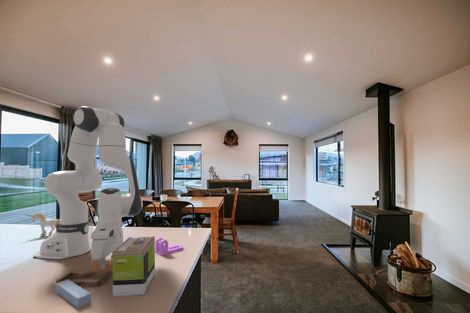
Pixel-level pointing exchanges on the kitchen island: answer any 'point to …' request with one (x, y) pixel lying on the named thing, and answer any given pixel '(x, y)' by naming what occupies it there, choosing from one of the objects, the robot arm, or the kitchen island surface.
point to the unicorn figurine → (45, 222)
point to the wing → (73, 293)
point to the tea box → (133, 266)
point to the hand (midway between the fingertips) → (108, 263)
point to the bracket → (165, 247)
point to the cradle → (98, 282)
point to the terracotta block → (96, 266)
